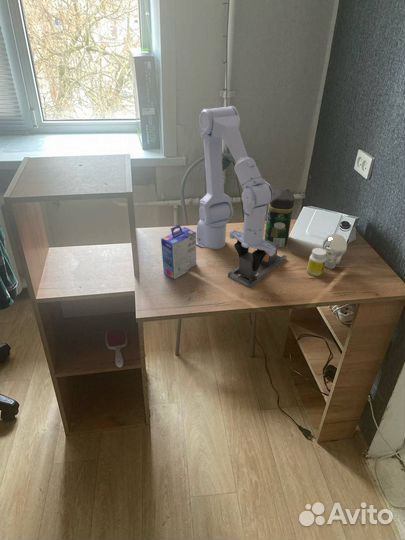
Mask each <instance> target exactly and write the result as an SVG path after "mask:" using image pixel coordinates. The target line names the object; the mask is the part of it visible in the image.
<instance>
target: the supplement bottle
mask: <svg viewBox="0 0 405 540" xmlns="http://www.w3.org/2000/svg"><path fill="white" fill-rule="evenodd" d="M325 256H326V251H325V250H324V249H323V248H320V247H316V248H313V249H312V251H311V254H310V256H309V259H308V262H307V263H308V264H307V268H306V273H307V274H308V275H309V276H312V277H321V276H322V275H323V272H324V268H325V261H326V258H325Z"/></svg>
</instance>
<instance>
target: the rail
mask: <svg viewBox="0 0 405 540" xmlns="http://www.w3.org/2000/svg"><path fill="white" fill-rule="evenodd" d="M286 260H287V255H285V254H284V255H282V256H280V255H278V254H277V256H276V261H275V262H274V263H272V264H271V265H270V266H268V265H265V264H263V263H261V264H260V266H259V269H258V271H257V274H256V275H255V276H253V277H252V278H251V279H248V278H246V277H244V276H242V275H240V274H238V273H239V265H238V266H236V267H235V268H234V269H232V270H230V271H229V272H227V277H228V278H229V279H231V280H233V281H235V282H237V283H239V284H241V285H243V286H246V287H247V288H249V289H251V287H253V286H254V285H256V284H257V283H258V282H260V281H261V280H262V279H264V277H266V276H267V275H268V274H270V273H271V272H272V271H273V270H274V269H277V267H278V266H280V265H281V264H283V262H285V261H286Z"/></svg>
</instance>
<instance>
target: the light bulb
mask: <svg viewBox="0 0 405 540" xmlns="http://www.w3.org/2000/svg"><path fill="white" fill-rule="evenodd" d="M347 248H348V243H347V240H346V238H345V237H344V236H342V235H341V234H338V233H337V234H336V233H334V234H330V235H327V237H326V238H324V240H323V242H322V249H324V250H325V251H326V256H325V258H326V261H325V265H324V268H326V269H331V270H333V269H335V268H336V265H337V262H338V261H339V259H340V258H341V257H342V256H343V255H344V254H345V253H346V252H347Z"/></svg>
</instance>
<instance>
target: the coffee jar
mask: <svg viewBox="0 0 405 540" xmlns="http://www.w3.org/2000/svg"><path fill="white" fill-rule="evenodd" d="M272 190H273V200H272V202H271V203H269V204H268V205H267V212H266V221H265V230H264V232H265V233H264V240H265V241H267V240H269V241H271V242H273V243H276V244H278V248H285V247H286V246H287V245H288V240H289V236H290V228H291V222H292V217H293V216H292V215H293V211H294V204H295V203H294V202H295V196H294V193H293V192H292V191H290V189H288V188H279V187H278V188H277V187H276V188H275V189H272Z"/></svg>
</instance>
